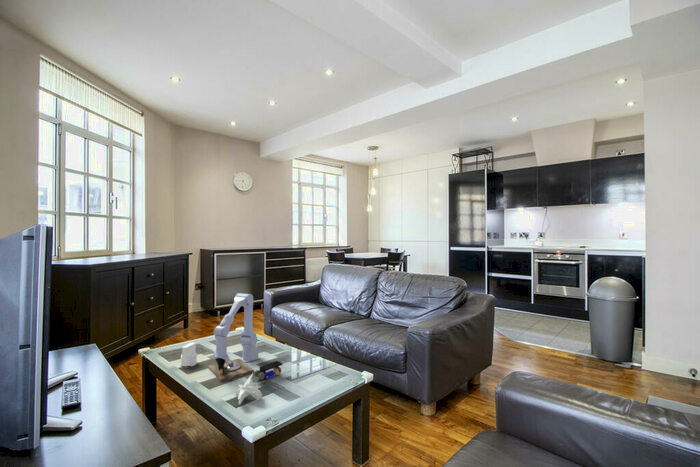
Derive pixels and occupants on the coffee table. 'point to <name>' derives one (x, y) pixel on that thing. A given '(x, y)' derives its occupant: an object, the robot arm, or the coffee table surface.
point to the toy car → (264, 368)
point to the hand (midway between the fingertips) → (221, 370)
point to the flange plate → (230, 367)
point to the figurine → (248, 391)
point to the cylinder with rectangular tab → (189, 355)
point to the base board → (241, 371)
